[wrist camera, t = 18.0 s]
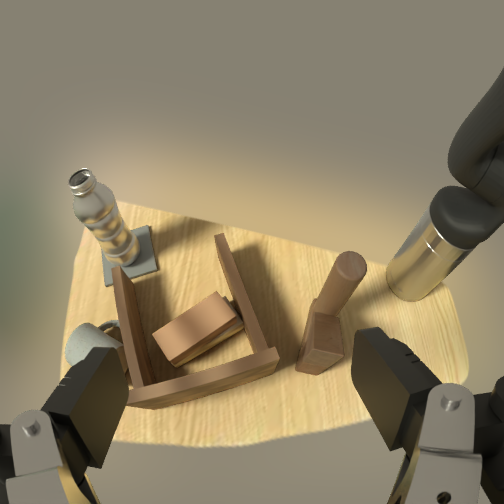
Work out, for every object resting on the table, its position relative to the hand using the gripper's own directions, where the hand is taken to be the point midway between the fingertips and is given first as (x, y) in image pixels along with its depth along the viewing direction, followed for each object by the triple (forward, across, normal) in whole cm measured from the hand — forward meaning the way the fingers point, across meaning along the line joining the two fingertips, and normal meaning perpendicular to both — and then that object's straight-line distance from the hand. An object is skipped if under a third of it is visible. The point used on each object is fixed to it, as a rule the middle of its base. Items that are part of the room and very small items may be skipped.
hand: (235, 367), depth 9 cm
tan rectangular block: (+33, +6, +17) cm, 37 cm away
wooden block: (+31, -11, +18) cm, 38 cm away
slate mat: (+43, +20, +6) cm, 48 cm away
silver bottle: (+43, +20, +6) cm, 47 cm away
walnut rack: (+34, +8, +15) cm, 38 cm away
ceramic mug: (+31, +21, +19) cm, 42 cm away
